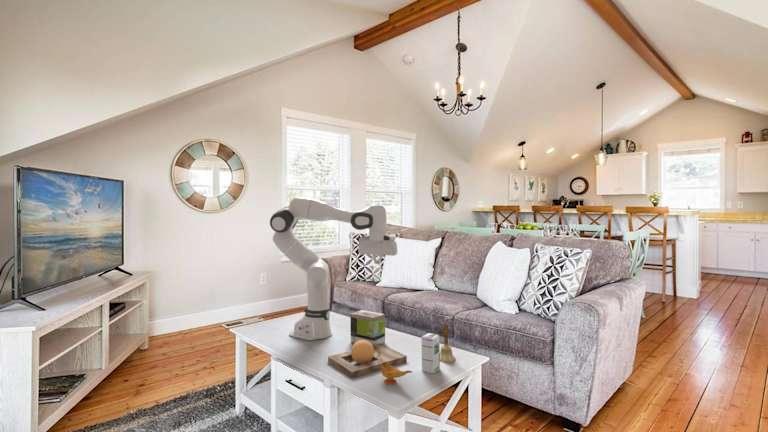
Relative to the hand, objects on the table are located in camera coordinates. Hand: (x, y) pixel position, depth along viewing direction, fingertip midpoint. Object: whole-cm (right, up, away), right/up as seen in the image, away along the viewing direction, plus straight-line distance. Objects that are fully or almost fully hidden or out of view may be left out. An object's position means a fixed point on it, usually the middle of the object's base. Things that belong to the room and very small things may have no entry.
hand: (377, 263), depth 201 cm
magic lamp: (+7, -41, -49) cm, 64 cm away
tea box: (-5, -39, -4) cm, 40 cm away
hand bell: (+31, -40, -25) cm, 56 cm away
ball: (-6, -35, -30) cm, 46 cm away
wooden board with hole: (-4, -40, -28) cm, 49 cm away
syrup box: (+23, -40, -37) cm, 59 cm away
